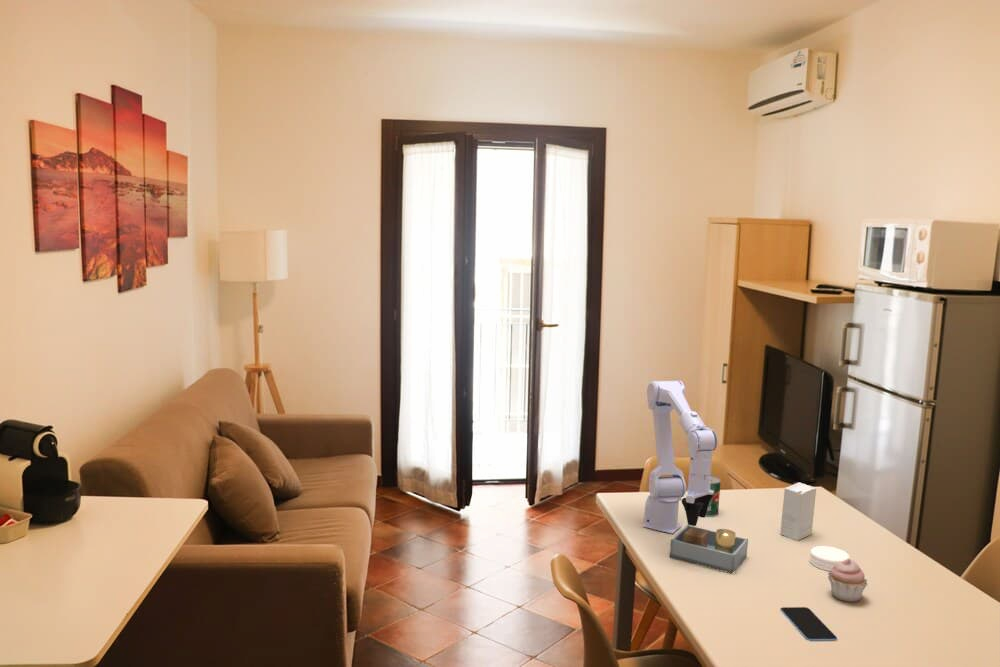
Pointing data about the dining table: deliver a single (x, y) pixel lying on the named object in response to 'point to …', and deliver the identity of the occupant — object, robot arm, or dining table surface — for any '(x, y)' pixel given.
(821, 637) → the smartphone
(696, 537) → the walnut cube
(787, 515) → the skincare box
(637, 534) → the dining table surface
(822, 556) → the white round disc
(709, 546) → the tote
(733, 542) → the brass cylinder
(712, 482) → the canned tomato
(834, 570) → the cupcake
